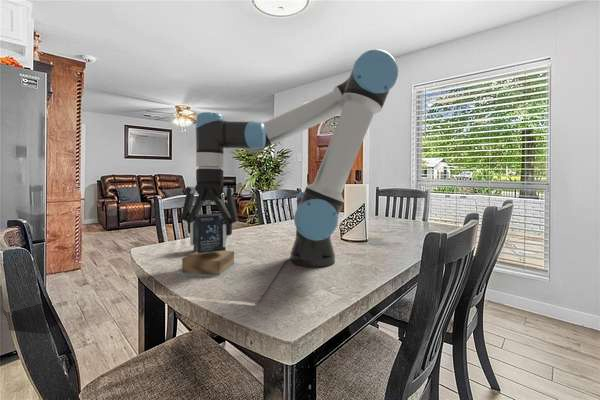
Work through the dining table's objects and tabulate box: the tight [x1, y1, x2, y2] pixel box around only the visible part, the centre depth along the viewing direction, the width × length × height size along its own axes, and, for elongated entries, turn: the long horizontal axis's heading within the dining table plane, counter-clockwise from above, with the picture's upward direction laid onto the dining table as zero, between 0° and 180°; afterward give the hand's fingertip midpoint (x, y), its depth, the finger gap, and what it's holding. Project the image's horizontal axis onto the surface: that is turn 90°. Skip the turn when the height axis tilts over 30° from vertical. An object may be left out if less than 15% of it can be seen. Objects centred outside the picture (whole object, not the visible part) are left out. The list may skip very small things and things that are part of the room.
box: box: [193, 213, 227, 253], centre depth 87 cm, size 8×6×11 cm
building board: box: [174, 262, 241, 278], centre depth 88 cm, size 14×14×1 cm
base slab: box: [181, 250, 235, 275], centre depth 87 cm, size 11×11×4 cm
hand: (209, 245), depth 87 cm, fingers closed on box, 9 cm apart
